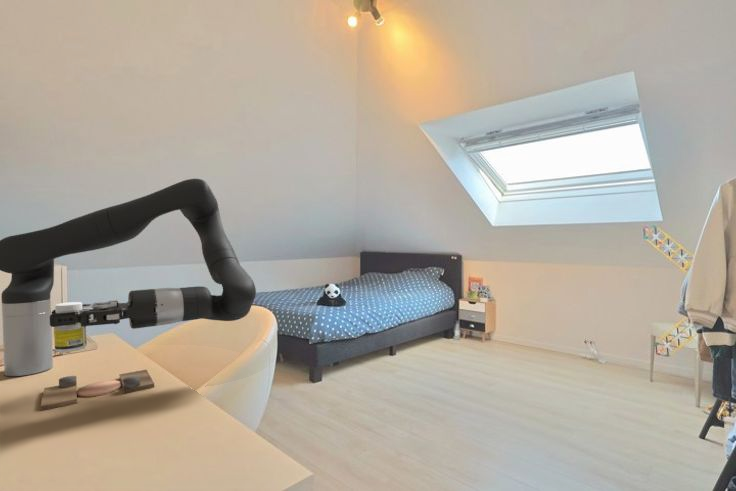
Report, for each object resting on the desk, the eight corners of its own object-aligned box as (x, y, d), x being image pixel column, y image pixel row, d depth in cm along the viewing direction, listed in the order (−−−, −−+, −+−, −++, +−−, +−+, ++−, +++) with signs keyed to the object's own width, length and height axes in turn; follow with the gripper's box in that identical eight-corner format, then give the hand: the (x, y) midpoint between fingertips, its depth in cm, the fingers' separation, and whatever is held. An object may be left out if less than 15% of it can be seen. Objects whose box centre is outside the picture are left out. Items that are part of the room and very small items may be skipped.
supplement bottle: (66, 346, 78) (64, 302, 78) (92, 345, 78) (90, 301, 78) (48, 353, 73) (46, 306, 73) (76, 352, 73) (74, 305, 73)
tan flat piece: (44, 391, 86) (44, 380, 86) (146, 372, 97) (146, 362, 97) (40, 410, 76) (40, 397, 76) (154, 387, 87) (154, 376, 87)
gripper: (151, 285, 89) (52, 293, 80) (161, 292, 78) (46, 302, 68) (152, 320, 90) (54, 332, 80) (162, 331, 78) (48, 347, 68)
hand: (51, 318), depth 74 cm, fingers closed on supplement bottle, 4 cm apart
